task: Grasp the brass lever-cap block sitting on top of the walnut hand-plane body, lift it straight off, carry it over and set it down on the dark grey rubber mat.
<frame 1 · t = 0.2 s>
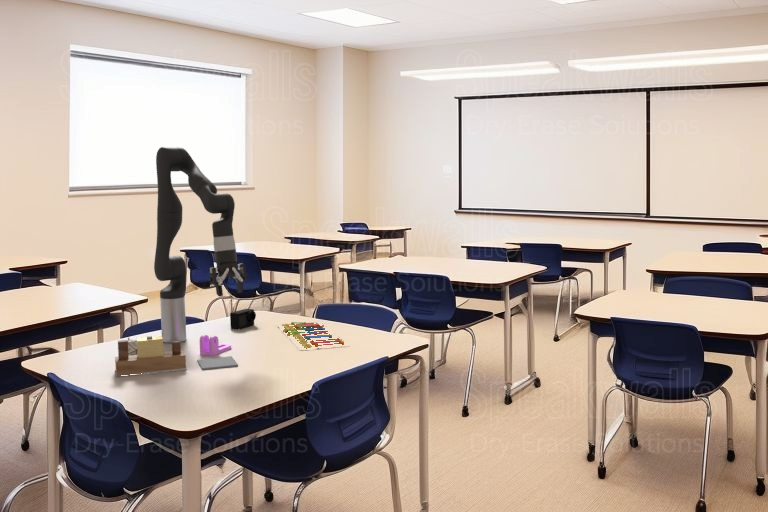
hand: (230, 294, 264), 22 cm above the table, tool pointing down, fingers open, 8 cm apart
game die: (132, 361, 260), on the table
plane body: (151, 370, 248), on the table
lever cap: (150, 356, 247), point 5 cm above the table, touching plane body
digital camera: (243, 327, 313), on the table
bracket: (217, 351, 274), on the table
gear board: (311, 337, 297), on the table
mat: (217, 363, 256), on the table
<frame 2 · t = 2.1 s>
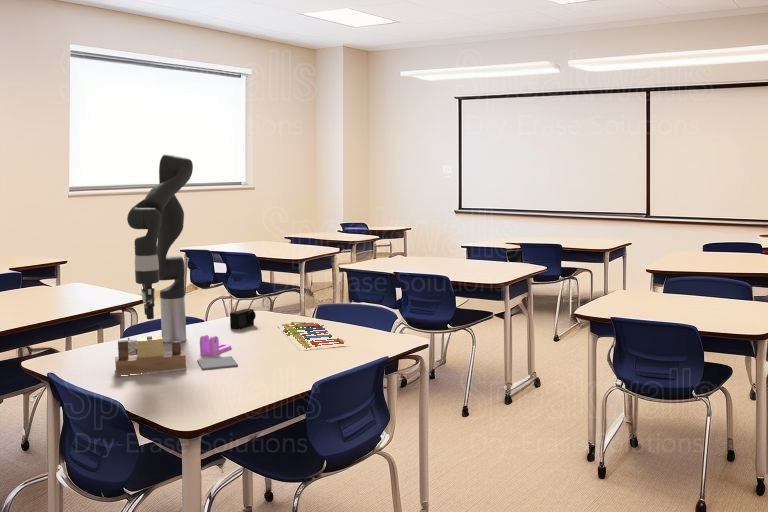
hand: (149, 316, 245), 18 cm above the table, tool pointing down, fingers open, 8 cm apart
nothing on the table moved.
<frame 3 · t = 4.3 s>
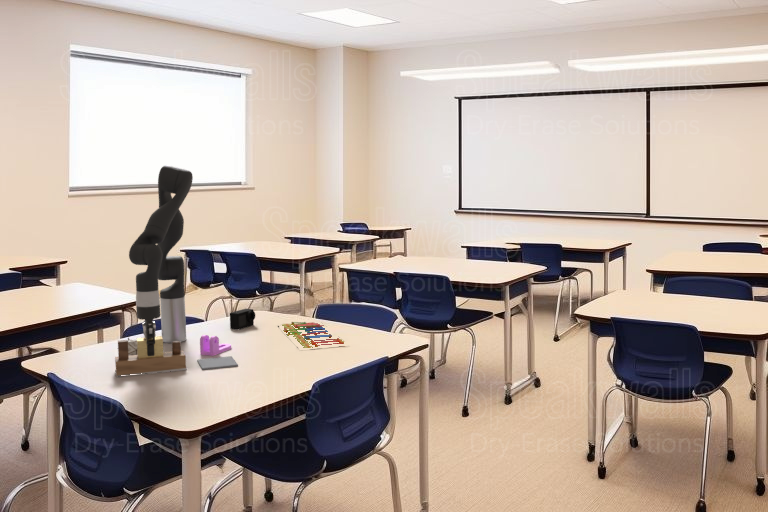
hand: (150, 353, 247), 6 cm above the table, tool pointing down, fingers closed on lever cap, 4 cm apart
lever cap: (150, 356, 247), point 5 cm above the table, touching gripper, plane body
everything else where it was.
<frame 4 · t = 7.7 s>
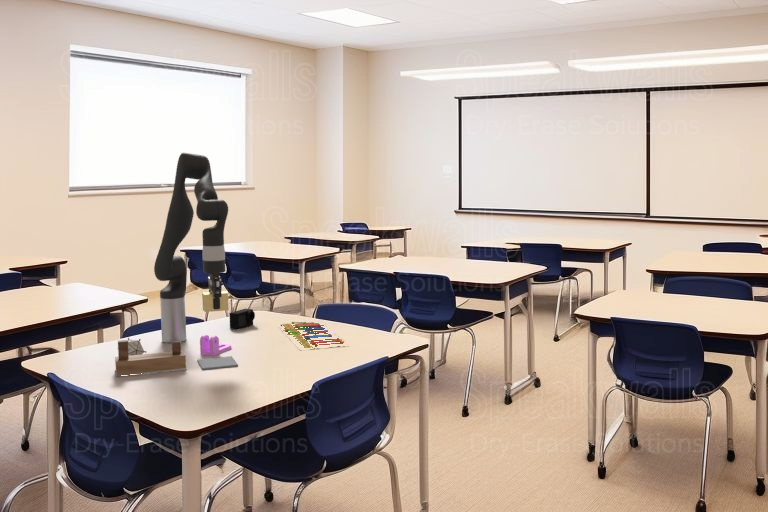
hand: (215, 307, 253), 20 cm above the table, tool pointing down, fingers closed on lever cap, 4 cm apart
lever cap: (215, 309, 254), point 19 cm above the table, touching gripper
everything else where it was.
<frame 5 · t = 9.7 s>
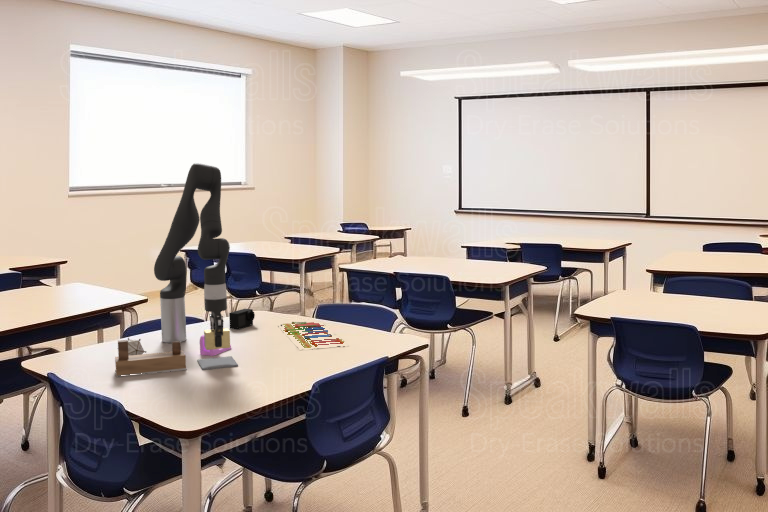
hand: (217, 345, 255), 7 cm above the table, tool pointing down, fingers closed on lever cap, 4 cm apart
lever cap: (217, 347, 255), point 6 cm above the table, touching gripper
everything else where it was.
when the fingers open (3 cm above the table, at t = 11.4 s): lever cap drops 2 cm, resting on mat.
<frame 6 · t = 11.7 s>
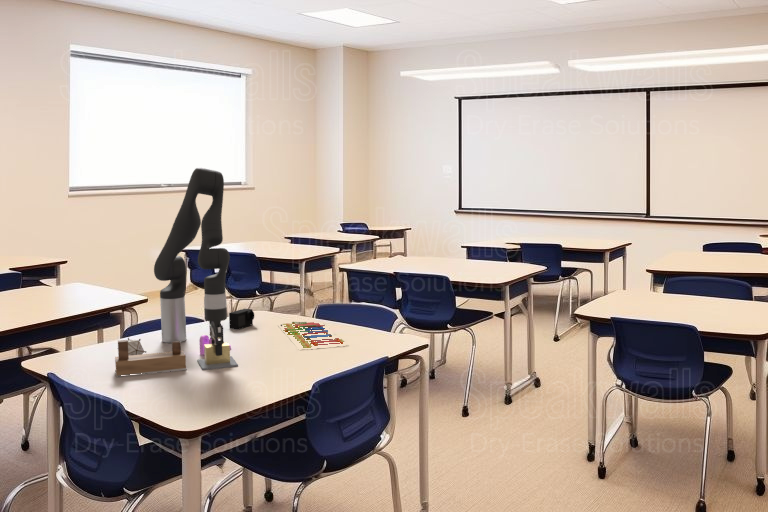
hand: (217, 352, 255), 4 cm above the table, tool pointing down, fingers open, 7 cm apart
lever cap: (217, 361, 256), point 1 cm above the table, touching mat
everything else where it was.
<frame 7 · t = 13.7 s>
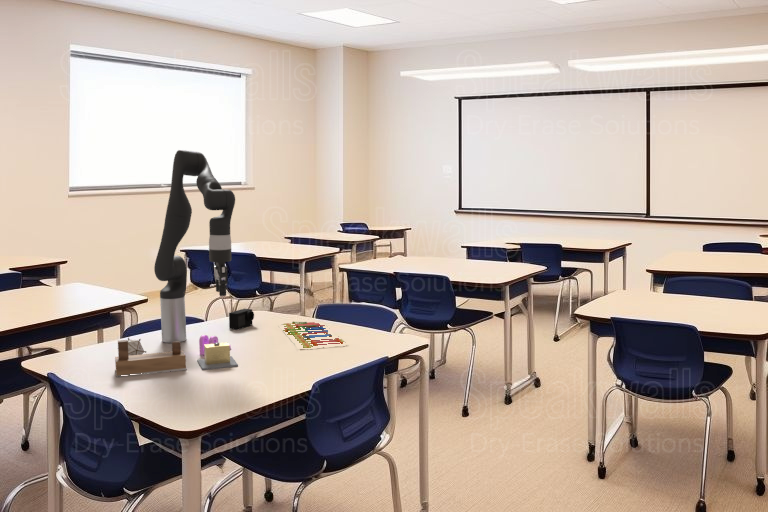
hand: (221, 293, 257), 24 cm above the table, tool pointing down, fingers open, 8 cm apart
nothing on the table moved.
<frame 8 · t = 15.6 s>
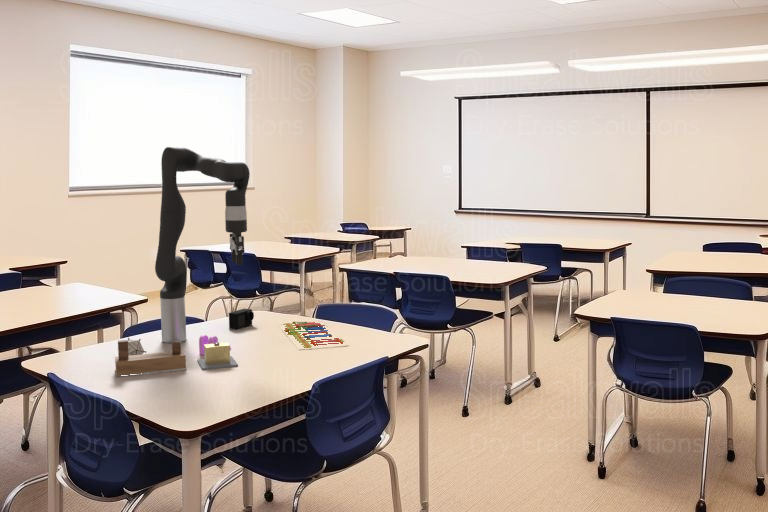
hand: (237, 263, 266), 33 cm above the table, tool pointing down, fingers open, 8 cm apart
nothing on the table moved.
at the end: lever cap inside the target area on the mat (0.2 cm from its centre), point 0.6 cm above the mat's base; lever cap touching mat; the gripper is holding nothing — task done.
